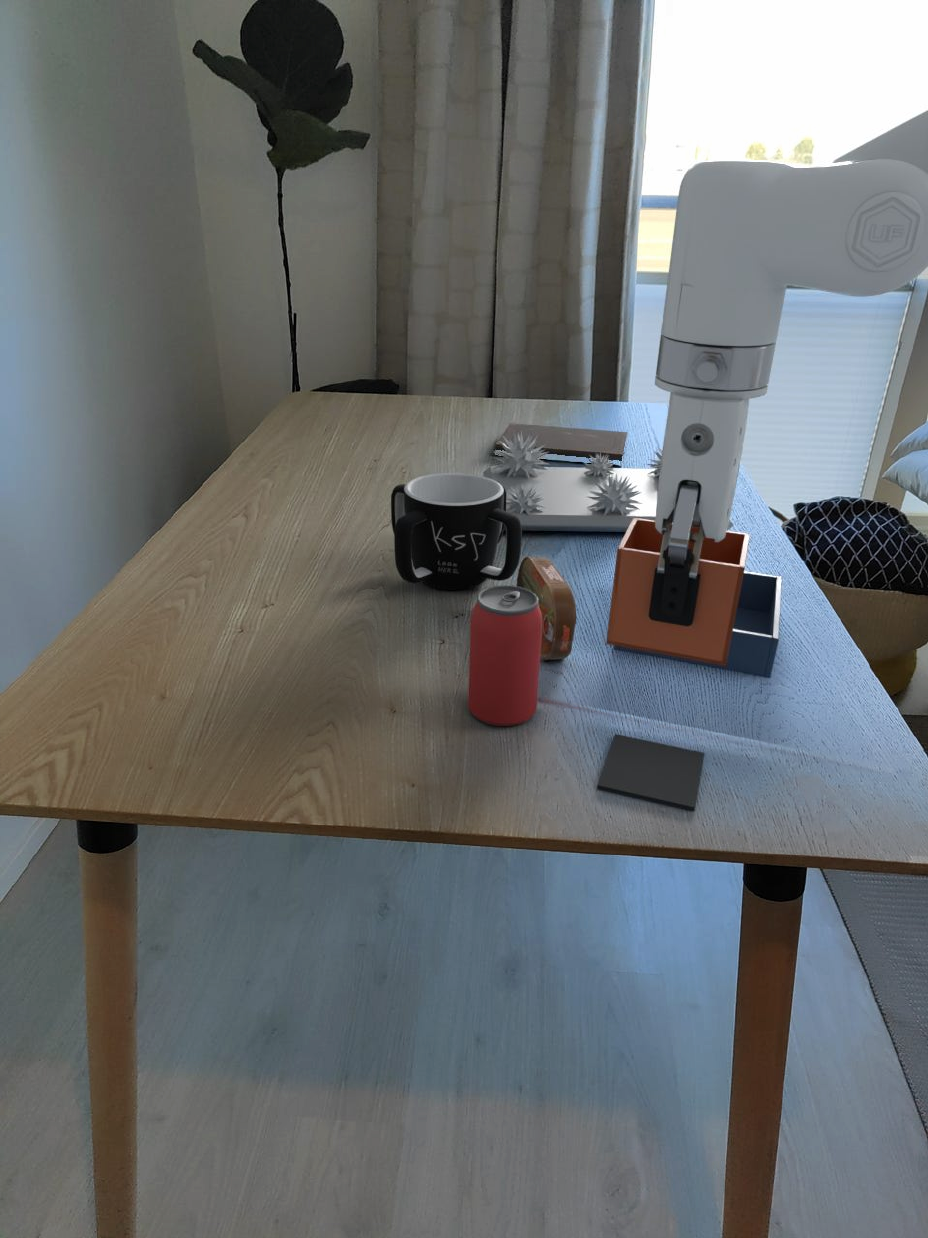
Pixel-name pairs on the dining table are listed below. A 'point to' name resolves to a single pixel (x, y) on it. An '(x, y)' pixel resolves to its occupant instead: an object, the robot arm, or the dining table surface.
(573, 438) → the hardcover book
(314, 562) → the dining table surface
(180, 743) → the dining table surface
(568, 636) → the tin
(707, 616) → the small bin
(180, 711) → the dining table surface
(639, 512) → the decorative tray
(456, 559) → the mug
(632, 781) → the mat
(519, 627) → the beer can
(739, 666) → the box
